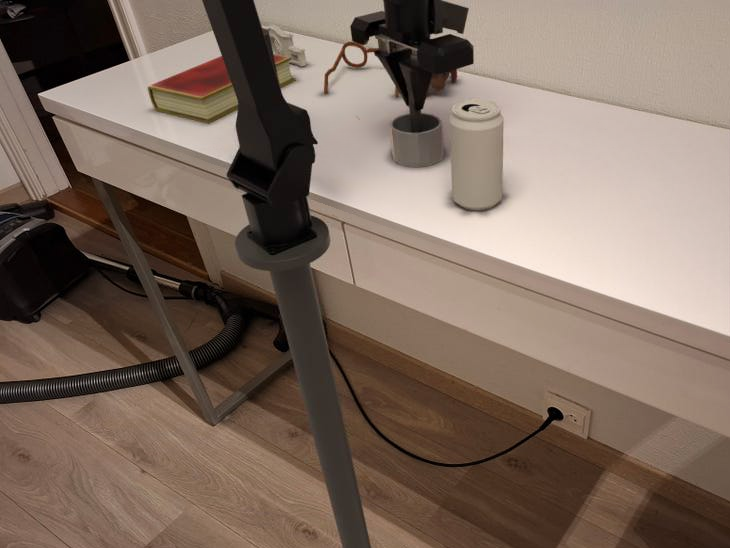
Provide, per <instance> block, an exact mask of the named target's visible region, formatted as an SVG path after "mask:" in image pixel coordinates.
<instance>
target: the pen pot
mask: <svg viewBox="0 0 730 548" xmlns="http://www.w3.org/2000/svg"><path fill="white" fill-rule="evenodd" d="M421 115H422V129H423V132H419V133H411V124H410V112H408V113H403V114H401V115H397V116H395V117H394V118H393V119H391V120H390V122H389V124H388V126H389V136H390V145H391V154H392V158H393V161H394V162H395V163H397V164H399V165H400V166H403V167H408V168H424V167H429V166H432V165H435V164H437V163H439V162H441V160H443V158H444V154H445V153H444V151H445V148H444V129H443V127H444V126H443V120H442V119H441V118H440V116H438V115H435V114H432V113H426V112H421Z"/></svg>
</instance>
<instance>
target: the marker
mask: <svg viewBox="0 0 730 548" xmlns="http://www.w3.org/2000/svg"><path fill="white" fill-rule="evenodd" d="M407 90H408V88H407ZM408 100H409V107H408V111H409V112H408V113H410V124H411V133H419V132H423V129H422V115H421V113H422V110H419V111H417V110H415V108H414V105H413V103H412V100H411V97H410V94H409V91H408Z"/></svg>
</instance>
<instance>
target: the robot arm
mask: <svg viewBox="0 0 730 548" xmlns="http://www.w3.org/2000/svg"><path fill="white" fill-rule="evenodd" d="M201 1H202V4H203V7H204V10H205V13H206V15H207V18H208V21H209V24H210V26H211V29H212V32H213V35H214V38H215V41H216V43H217V47H218V50H219V52H220V56H222V58H223V60H224V63H225V66H226V69H227V72H228V75H229V77H230V80H231V83H232V86H233V89H234V91H235V94H236V97H237V100H238V109H237V113H236V120H235V130H236V137H237V141H238V145H239V147H238V149H237V151H236V153H235V155H234V157H233V160H232V161H231V164H230V166H229V168H228V170H227V172H226V178H227V179H228V180H229V182H230V183H231V184H232V186H233V188H235V189H237V190H241V191H242V192H244V194H242V195H241V198H242V199H241V200H242V202H243V205H244V210H245V213H246V217H247V221H248V225H249V224H250V228H251V230H250V231H248V232H247V236H248V237H249V238H250V239H251V240H252V241H254V242H255V243H256V244H257V245H259V246H260V247H261V248H262V249H263V250H265V251H266V252H267V253H268V254H270V255H276V254H278V253H281V252H283V251H286V250H288V249H290V248H293V247H295V246H298V245H300V244H302V243H305V242H307V241H309V240H312V239H314V238H316V237H317V233H316V232H315V231H314V230H312V229H311V228H309V227H312V220H311V215H312V214H311V211H310V205H309V200H308V197H309V196H310V188H311V180H312V170H313V165H314V164H315V162H316V149H315V145H318V144H319V143H318V140H317V139H316V137H315V136H314V134H313V131H312V126H311V125H312V124H311V117H310V115H309V113H308V110H306V109H305V108H303V107H300V106H297V105H295V104H293V103H290V102H287V100H286V99H285V97H284V95H283V91H282V87H281V88H280V85H279V82H278V78H277V75H276V72H275V69H274V65H273V62H272V59H271V55H270V52H269V49H268V46H267V42H266V39H265V36H264V32H263V29H262V26H263V25H262V23H261V19H260V17H259V12H258V9H257V7H256V3H255V0H201ZM382 1H383V10H379V11H375V12H371V13H367V14H363V15H359V16H355V17H354V18H353V20H352V22H351V24H350V25H349V29H350V36H351V42H356V43H359V44H361V45H362V46H366V45H368V43H369V41H370V38H372V37H374V38H375V39H376V40H377V44H378V47H377V48H379V50H376V51H374V52H373V54H374V56H375V57H376V58H377V59H378V60H379V62H380V63H381V65H382V66H383V68H384V70H385V71H386V73H387V74H388V76H389V78H390V79H391V81H392V83H393V84H394V86H396V88H397V90H398V94H399V95H400V97H401V98H402V100H403V102H404V104H405V106H406V107H408V108H409V100H408V91H409V94H410V97H411V100H412V103H413V105H414V108H415V110H417V111H419V110H421V111H422V110H423V109H424V107H425V103H426V100H427V97H428V96H427V93H428V94H429V90H430V86H431V85H430V82H431V79H432V76H433V73H434V74H443V73H446V72H450V71H453V70H456V69H457V70H459V69H462V68H465V67H468V66H472V65H475V64H474V63H475V57H474V56H475V54H474V50H475V49H474V48H475V47H474V45H473V44H472V43H471V41H470V40H468V39H467V38H463V37H460V36H457V35H454V34H452V33H449V34H444V35H440V36H437V37H434V38H431V35H439V34H443V33H444V29H446V30H451V31H454V32H455V31H456V32H457V34H461V35H464V32H465V29H466V24H467V19H468V13H469V9H470V8H469V7H466V6H464V5H460V4H457V3H452V2H450V1H447V0H382ZM261 25H262V26H261ZM416 42H417V43H416ZM429 85H430V86H429ZM407 88H408V90H407ZM428 89H429V90H428Z"/></svg>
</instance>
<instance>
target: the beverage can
mask: <svg viewBox="0 0 730 548" xmlns="http://www.w3.org/2000/svg"><path fill="white" fill-rule="evenodd" d="M501 110H502V109H501V106H500V105H499V104H498V103H496V102H495V101H492V100H488V99H481V98H479V99H477V98H476V99H466V100H461V101H459V102H456V103H455V104H454V105H452V107H451V114H450V116H449V119H448V122H449V123H448V124H449V125H448V126H449V147H450V148H449V149H450V150H449V151H450V172H451V173H450V176H451V196H452V197H451V198H452V200H453V201H454V202H455V203H456V204H457V205H459V206H460V207H462V208H464V209H466V210H470V211H485V210H489V209H492V208H493V207H495V206H496V205H497V204H498V203H499V202H500V201H502V199H503V184H504V183H503V181H504V180H503V178H504V177H503V176H504V172H503V171H504V120H505V119H504V116H503V115H502V112H501Z"/></svg>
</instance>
